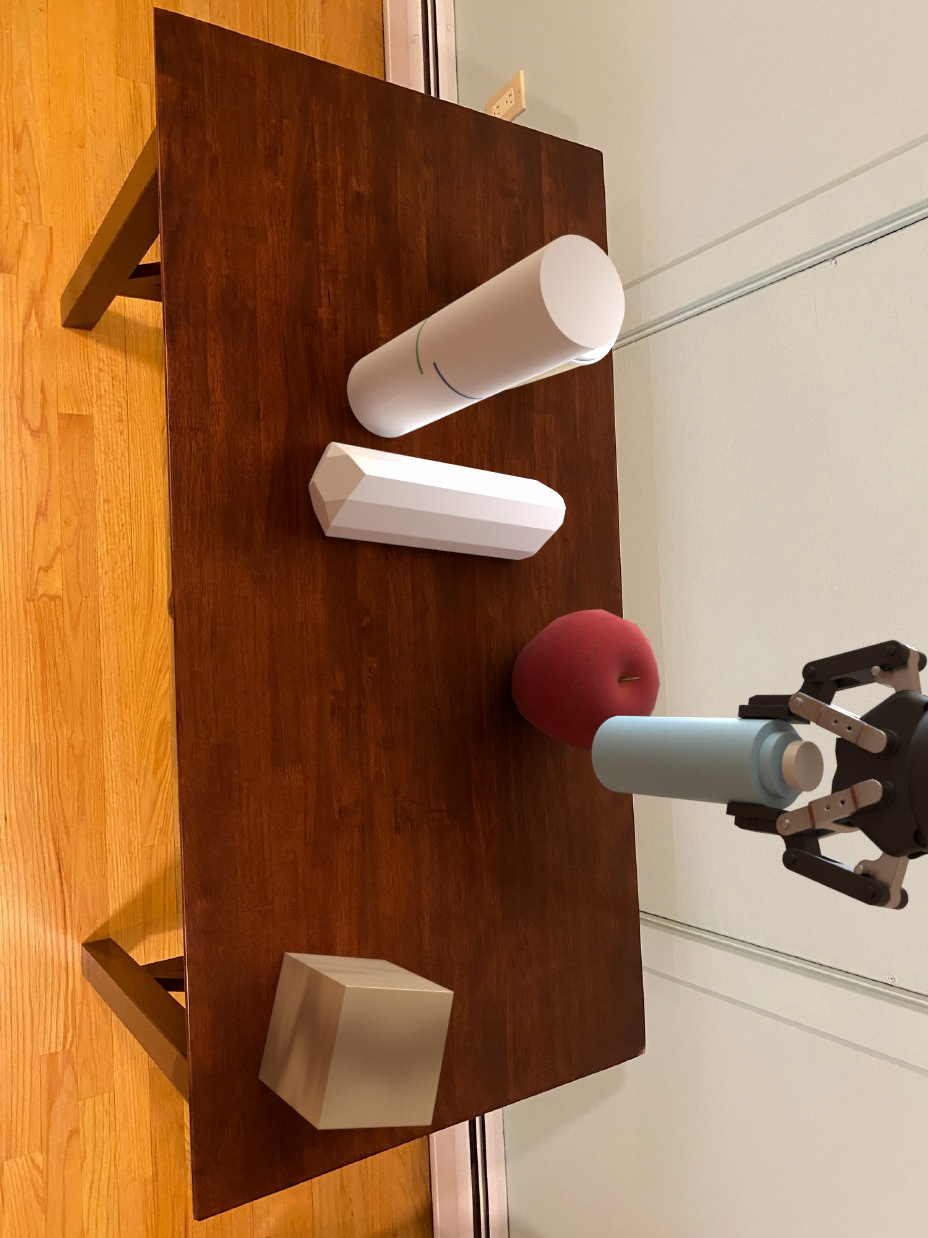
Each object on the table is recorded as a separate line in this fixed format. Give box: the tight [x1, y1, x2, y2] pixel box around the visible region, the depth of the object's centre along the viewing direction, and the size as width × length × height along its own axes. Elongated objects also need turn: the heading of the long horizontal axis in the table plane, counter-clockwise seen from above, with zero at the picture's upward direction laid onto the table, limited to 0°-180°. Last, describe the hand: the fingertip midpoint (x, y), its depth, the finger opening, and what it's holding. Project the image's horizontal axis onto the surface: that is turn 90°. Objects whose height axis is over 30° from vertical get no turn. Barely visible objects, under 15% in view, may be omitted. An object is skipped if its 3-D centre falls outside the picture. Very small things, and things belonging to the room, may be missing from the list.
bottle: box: [591, 716, 825, 810], centre depth 58 cm, size 5×5×15 cm
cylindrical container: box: [346, 234, 626, 439], centre depth 69 cm, size 7×7×25 cm
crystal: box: [308, 441, 566, 561], centre depth 79 cm, size 7×7×24 cm
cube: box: [258, 952, 454, 1131], centre depth 68 cm, size 9×9×10 cm
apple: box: [511, 608, 661, 752], centre depth 81 cm, size 12×12×13 cm
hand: (741, 762), depth 56 cm, fingers closed on bottle, 5 cm apart
